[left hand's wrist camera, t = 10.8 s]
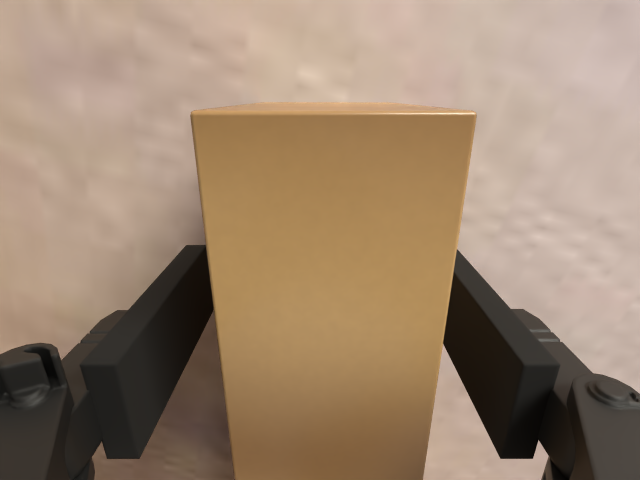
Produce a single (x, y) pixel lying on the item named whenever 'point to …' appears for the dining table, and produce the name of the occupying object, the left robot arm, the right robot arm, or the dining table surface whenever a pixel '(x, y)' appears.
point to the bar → (331, 279)
